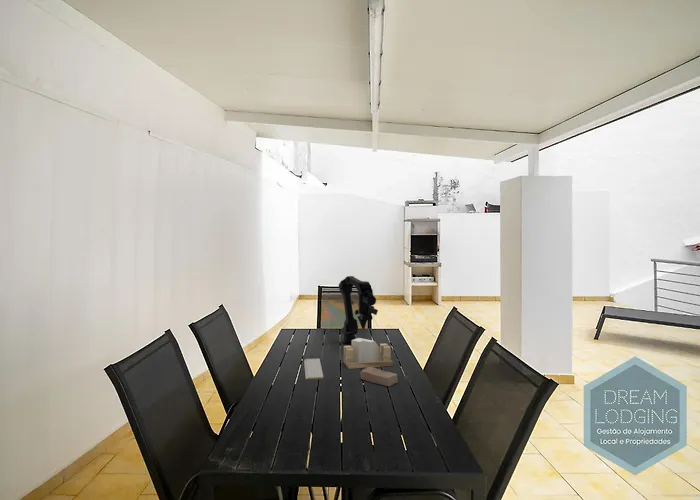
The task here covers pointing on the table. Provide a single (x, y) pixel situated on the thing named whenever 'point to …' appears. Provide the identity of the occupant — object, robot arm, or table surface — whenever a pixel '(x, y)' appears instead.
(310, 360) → the baseboard
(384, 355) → the wooden rack
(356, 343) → the grey faceted lump
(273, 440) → the table surface
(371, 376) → the brick
